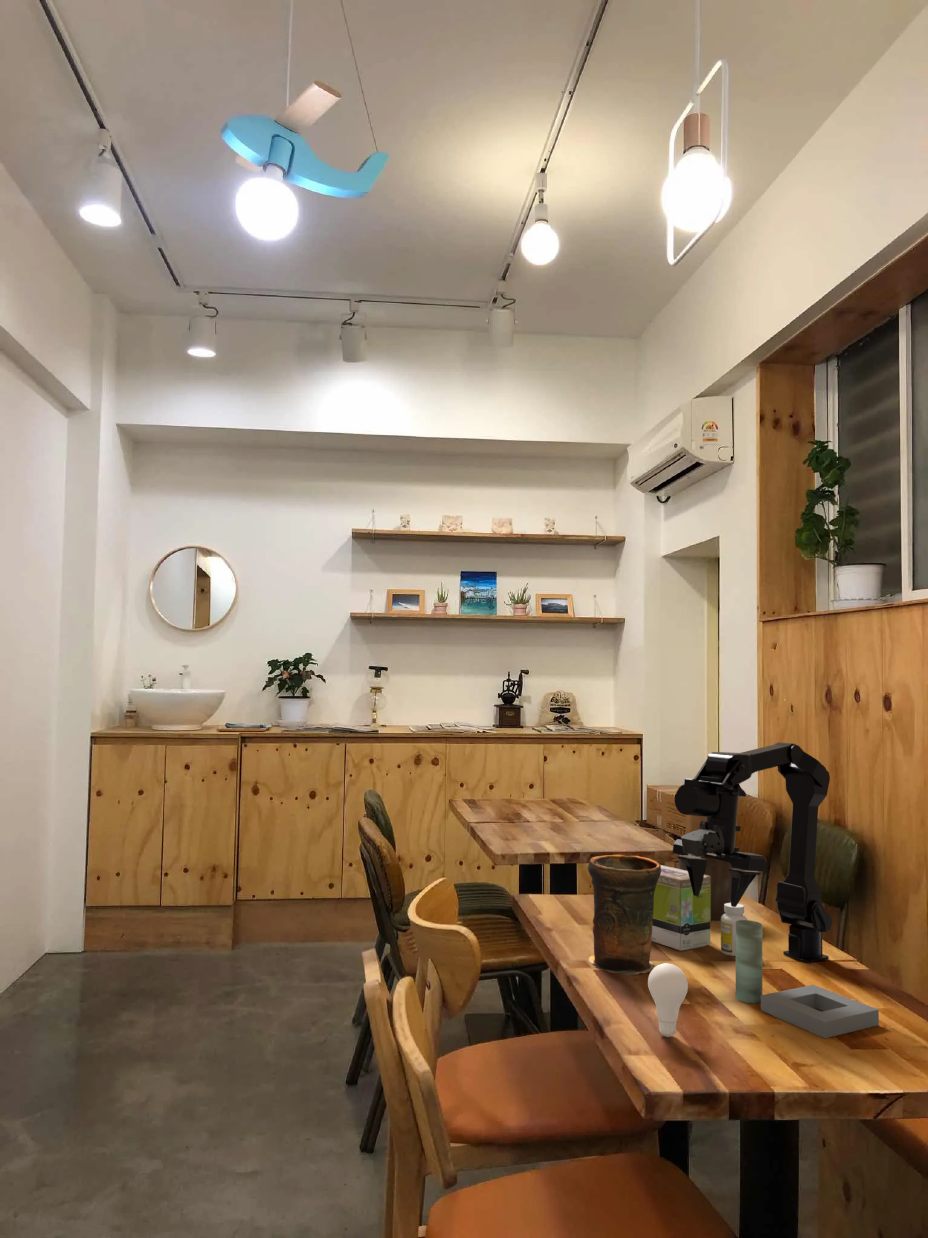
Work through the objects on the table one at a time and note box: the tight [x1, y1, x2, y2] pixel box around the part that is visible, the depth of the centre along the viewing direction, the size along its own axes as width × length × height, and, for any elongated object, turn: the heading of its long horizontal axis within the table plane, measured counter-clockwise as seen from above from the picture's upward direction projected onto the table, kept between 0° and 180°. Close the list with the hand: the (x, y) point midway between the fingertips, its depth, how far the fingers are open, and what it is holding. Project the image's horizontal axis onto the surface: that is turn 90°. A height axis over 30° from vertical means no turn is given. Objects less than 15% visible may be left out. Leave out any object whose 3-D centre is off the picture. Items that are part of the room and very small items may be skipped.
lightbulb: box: [647, 963, 689, 1038], centre depth 136 cm, size 6×6×11 cm
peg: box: [735, 919, 763, 1004], centre depth 154 cm, size 4×4×13 cm
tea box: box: [651, 864, 712, 952], centre depth 190 cm, size 15×10×15 cm, turn 34°
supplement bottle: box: [720, 903, 748, 957], centre depth 181 cm, size 5×5×10 cm
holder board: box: [760, 984, 880, 1039], centre depth 145 cm, size 13×13×2 cm
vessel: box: [587, 854, 661, 976], centre depth 173 cm, size 14×14×20 cm
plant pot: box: [677, 850, 741, 922], centre depth 210 cm, size 15×15×16 cm
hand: (714, 901), depth 166 cm, fingers open, 9 cm apart
